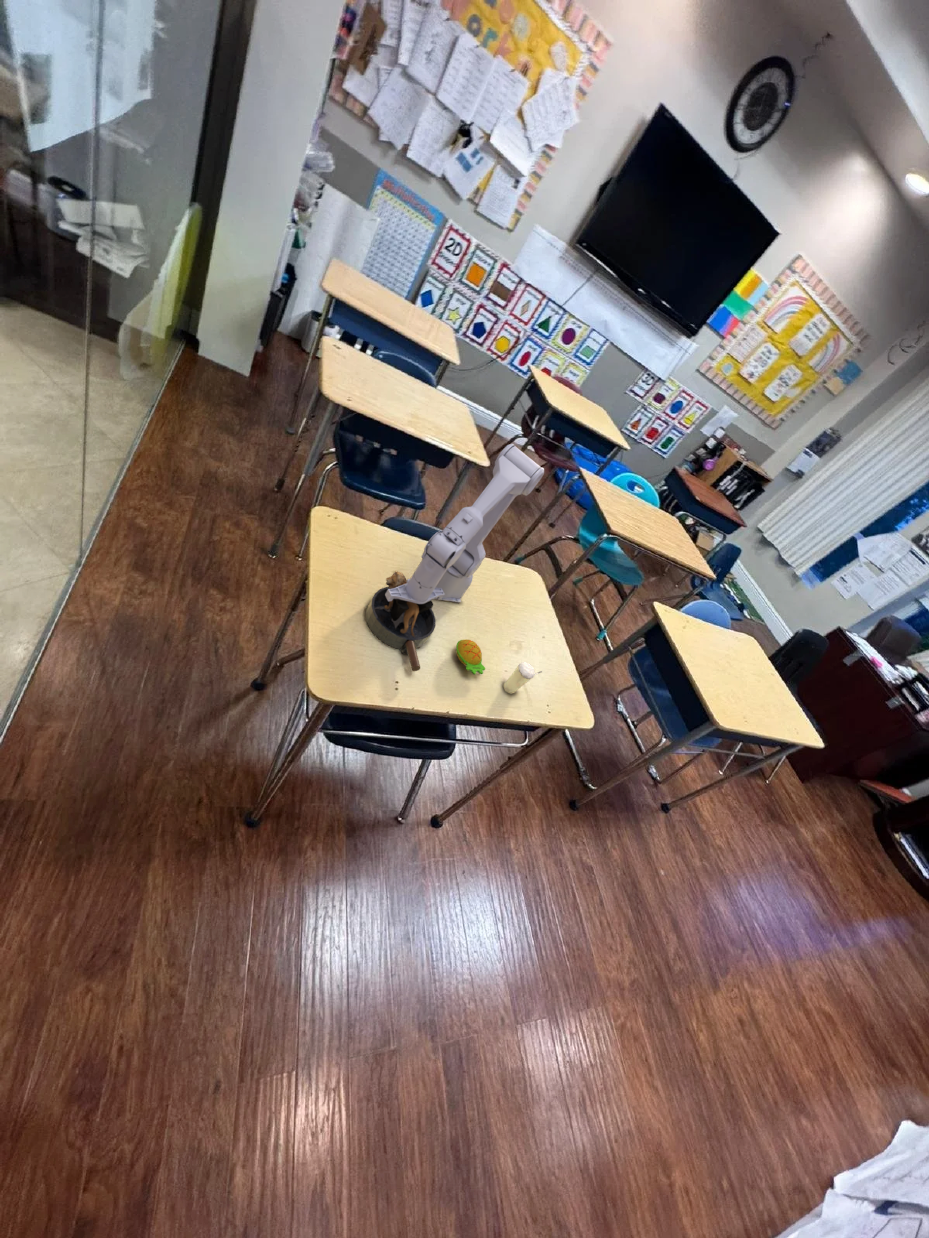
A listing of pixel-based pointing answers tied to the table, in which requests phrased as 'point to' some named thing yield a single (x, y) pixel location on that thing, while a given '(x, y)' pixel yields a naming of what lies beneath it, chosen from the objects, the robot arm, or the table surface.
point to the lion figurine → (413, 610)
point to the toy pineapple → (470, 655)
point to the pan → (397, 623)
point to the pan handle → (411, 655)
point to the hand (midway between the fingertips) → (401, 617)
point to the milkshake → (519, 677)
